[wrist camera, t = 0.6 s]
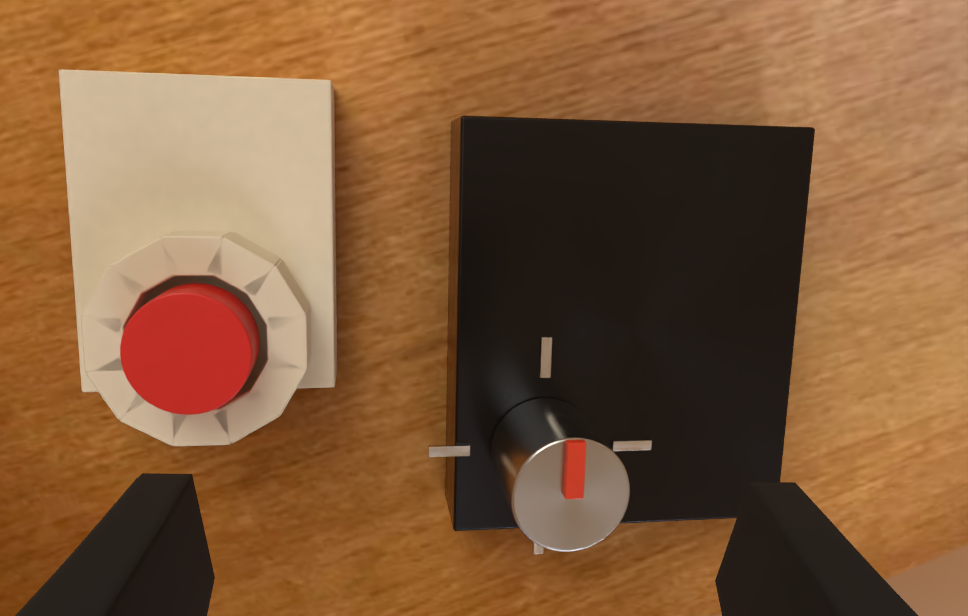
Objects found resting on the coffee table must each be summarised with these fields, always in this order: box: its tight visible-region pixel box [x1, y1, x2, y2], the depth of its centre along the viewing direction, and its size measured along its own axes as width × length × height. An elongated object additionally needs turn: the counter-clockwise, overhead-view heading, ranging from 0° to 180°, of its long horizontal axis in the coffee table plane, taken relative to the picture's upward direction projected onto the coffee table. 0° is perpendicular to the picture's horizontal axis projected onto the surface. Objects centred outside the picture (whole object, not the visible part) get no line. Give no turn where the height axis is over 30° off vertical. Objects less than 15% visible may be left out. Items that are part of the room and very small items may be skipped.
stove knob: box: [491, 398, 630, 552], centre depth 25 cm, size 4×4×4 cm
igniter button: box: [120, 283, 260, 415], centre depth 23 cm, size 4×4×2 cm
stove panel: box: [428, 116, 815, 554], centre depth 28 cm, size 15×13×3 cm
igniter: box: [59, 69, 337, 446], centre depth 25 cm, size 11×8×4 cm
